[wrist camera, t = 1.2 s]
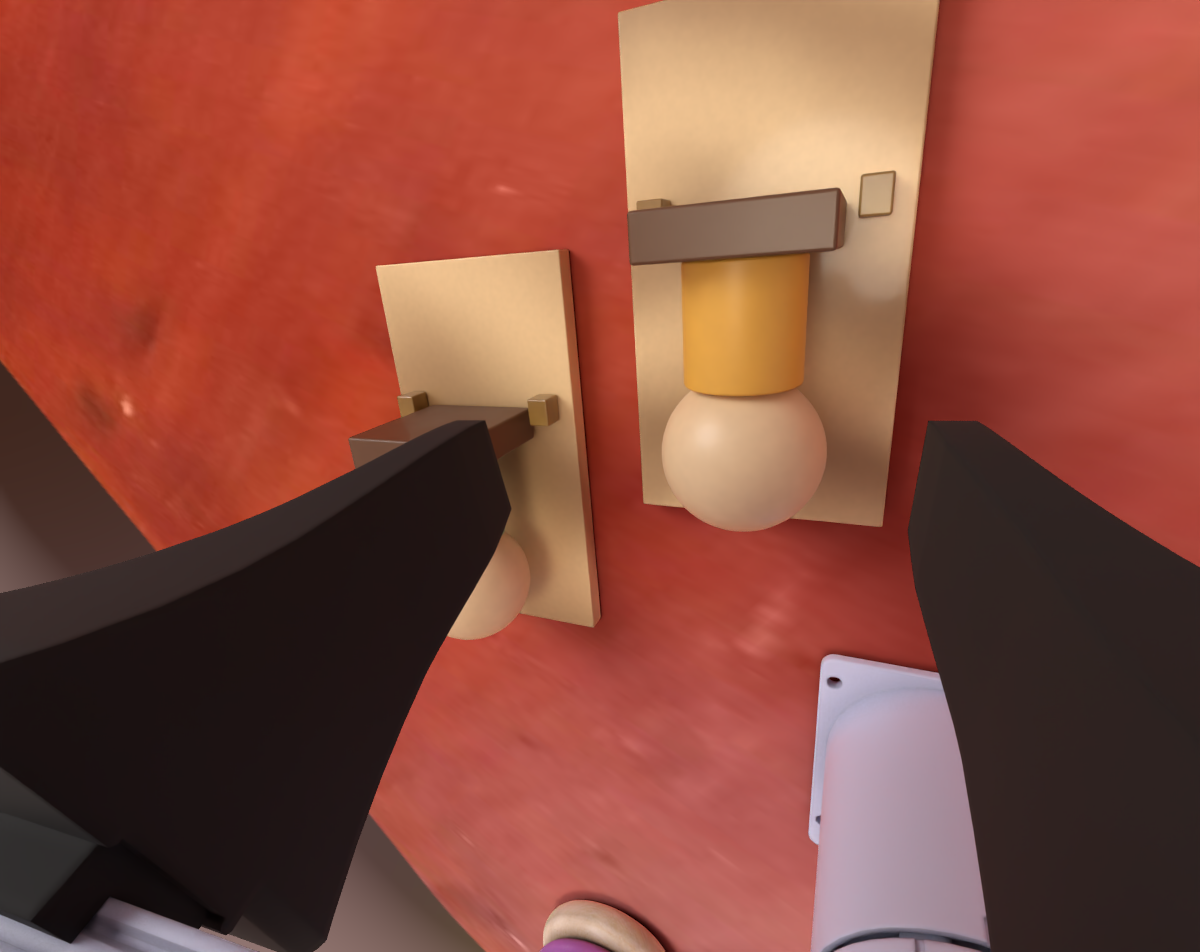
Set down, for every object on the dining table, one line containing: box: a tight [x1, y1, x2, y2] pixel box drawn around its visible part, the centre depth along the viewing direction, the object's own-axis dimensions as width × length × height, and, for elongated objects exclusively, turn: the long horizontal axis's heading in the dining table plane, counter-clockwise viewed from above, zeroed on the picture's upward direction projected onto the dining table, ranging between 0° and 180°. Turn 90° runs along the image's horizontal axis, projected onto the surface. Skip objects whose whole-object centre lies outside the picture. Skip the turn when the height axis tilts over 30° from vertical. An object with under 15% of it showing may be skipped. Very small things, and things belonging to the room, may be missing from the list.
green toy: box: [349, 405, 534, 640], centre depth 22 cm, size 9×5×5 cm, turn 4°
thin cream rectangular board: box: [376, 249, 601, 627], centre depth 23 cm, size 15×8×2 cm, turn 4°
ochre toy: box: [627, 187, 847, 532], centre depth 16 cm, size 9×5×5 cm, turn 4°
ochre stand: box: [618, 0, 940, 527], centre depth 17 cm, size 15×8×2 cm, turn 4°
